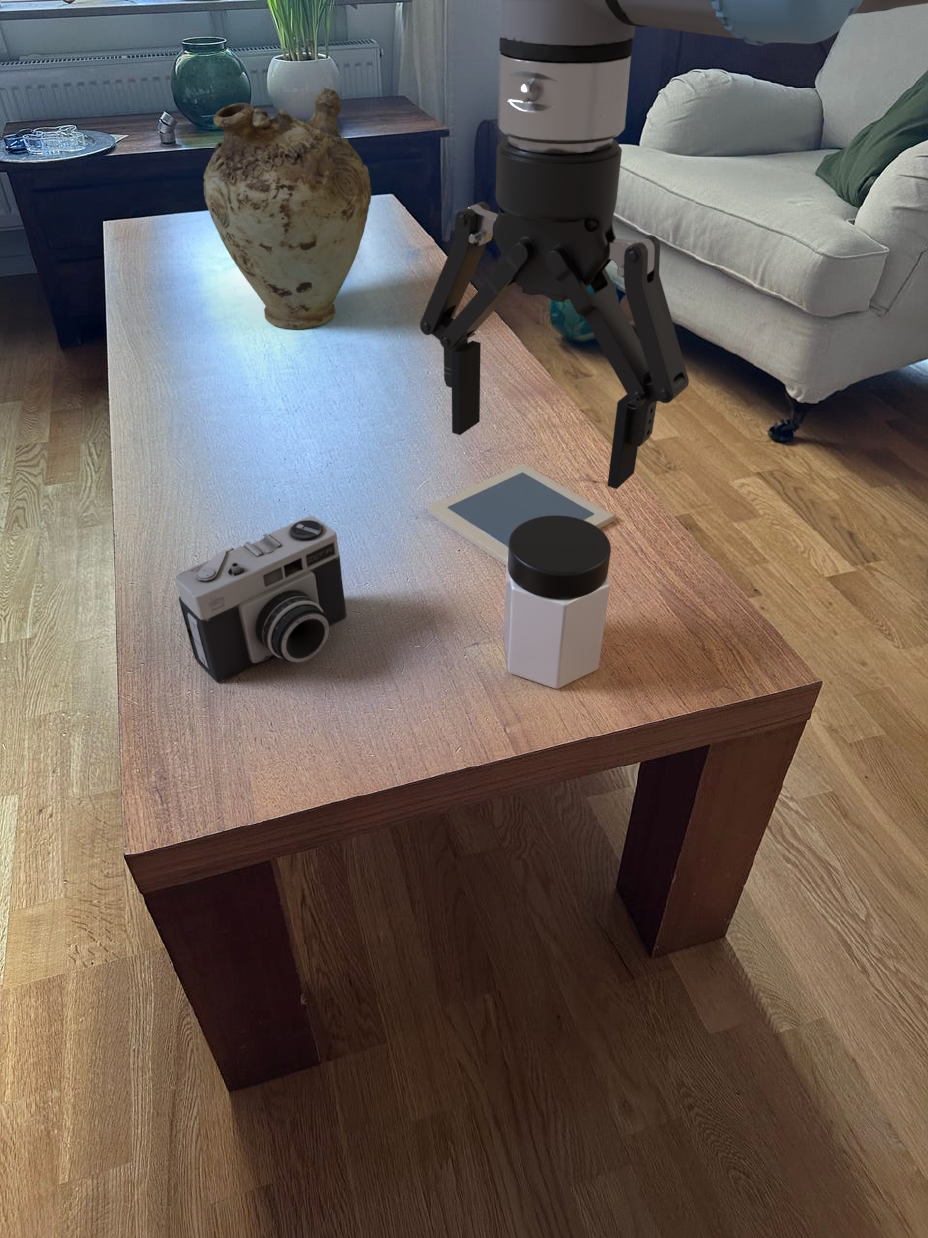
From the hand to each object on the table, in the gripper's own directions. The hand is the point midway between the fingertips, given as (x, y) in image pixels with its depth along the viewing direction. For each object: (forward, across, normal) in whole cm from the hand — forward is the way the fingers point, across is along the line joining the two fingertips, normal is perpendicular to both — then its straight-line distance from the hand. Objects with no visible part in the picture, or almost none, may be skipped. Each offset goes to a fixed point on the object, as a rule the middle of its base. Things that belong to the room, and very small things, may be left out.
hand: (539, 452), depth 66 cm
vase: (+19, -68, +44) cm, 83 cm away
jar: (+19, +2, 0) cm, 19 cm away
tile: (+19, -11, +16) cm, 27 cm away
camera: (+19, -17, -13) cm, 29 cm away
